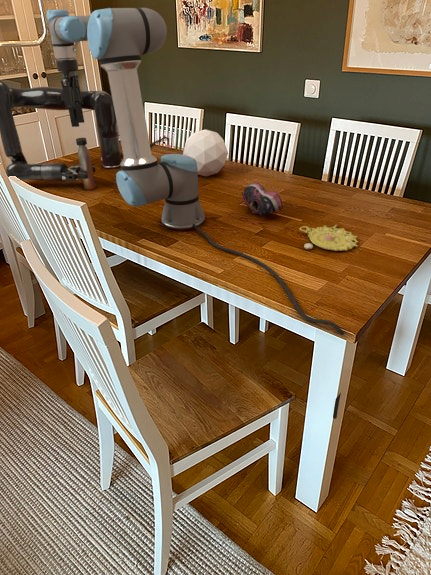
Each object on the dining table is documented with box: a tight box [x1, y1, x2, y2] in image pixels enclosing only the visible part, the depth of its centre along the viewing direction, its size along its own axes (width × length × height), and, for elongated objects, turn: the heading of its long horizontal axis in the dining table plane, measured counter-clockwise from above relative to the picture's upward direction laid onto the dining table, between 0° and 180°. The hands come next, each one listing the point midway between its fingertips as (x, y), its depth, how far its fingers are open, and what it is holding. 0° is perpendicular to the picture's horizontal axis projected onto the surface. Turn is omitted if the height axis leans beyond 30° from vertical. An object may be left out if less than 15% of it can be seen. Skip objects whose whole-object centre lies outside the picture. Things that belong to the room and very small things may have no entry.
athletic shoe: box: [238, 182, 284, 217], centre depth 160 cm, size 11×22×12 cm
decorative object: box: [299, 224, 359, 252], centre depth 141 cm, size 21×2×20 cm
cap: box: [75, 137, 88, 147], centre depth 178 cm, size 4×4×2 cm
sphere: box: [182, 128, 229, 177], centre depth 194 cm, size 19×20×20 cm
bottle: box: [77, 144, 97, 191], centre depth 183 cm, size 5×5×20 cm
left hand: (91, 172), depth 185 cm, fingers open, 8 cm apart
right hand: (78, 124), depth 175 cm, fingers open, 6 cm apart
